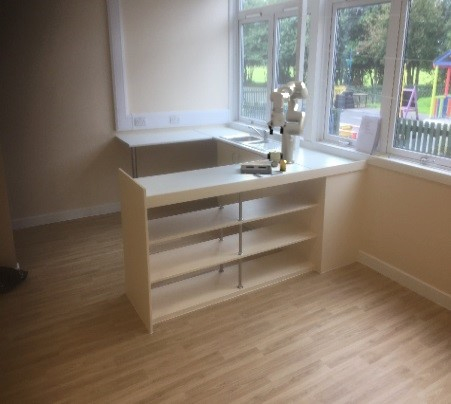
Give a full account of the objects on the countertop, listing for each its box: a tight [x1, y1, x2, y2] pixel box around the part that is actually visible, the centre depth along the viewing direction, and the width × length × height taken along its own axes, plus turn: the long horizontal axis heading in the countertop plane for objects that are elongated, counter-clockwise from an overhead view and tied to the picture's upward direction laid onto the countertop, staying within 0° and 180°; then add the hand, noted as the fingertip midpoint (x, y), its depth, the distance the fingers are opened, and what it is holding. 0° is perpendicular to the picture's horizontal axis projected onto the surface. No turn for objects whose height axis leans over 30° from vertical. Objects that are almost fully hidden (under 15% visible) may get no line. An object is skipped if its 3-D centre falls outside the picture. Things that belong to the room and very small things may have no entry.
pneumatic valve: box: [266, 150, 283, 168], centre depth 326 cm, size 6×12×12 cm, turn 92°
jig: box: [240, 164, 273, 175], centre depth 310 cm, size 16×22×3 cm
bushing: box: [279, 160, 287, 173], centre depth 312 cm, size 4×4×8 cm
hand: (276, 134), depth 306 cm, fingers open, 9 cm apart
